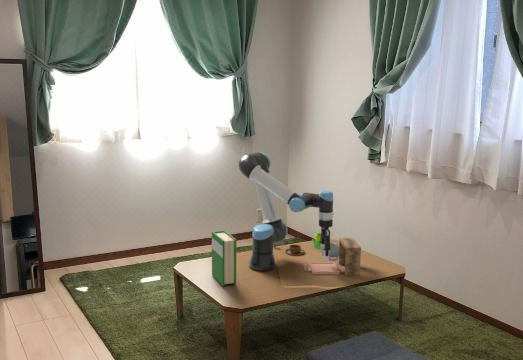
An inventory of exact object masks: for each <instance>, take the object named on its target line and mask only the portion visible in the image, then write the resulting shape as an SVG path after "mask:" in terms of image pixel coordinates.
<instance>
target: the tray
mask: <svg viewBox="0 0 523 360" xmlns="http://www.w3.org/2000/svg"><path fill="white" fill-rule="evenodd" d="M303 270H304V272H311V273H312V275H340V273H341V270H339V267H338V266H337V265H336V262H308V264H307V263H306V262H304V263H303Z"/></svg>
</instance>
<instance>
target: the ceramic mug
mask: <svg viewBox="0 0 523 360" xmlns="http://www.w3.org/2000/svg"><path fill="white" fill-rule="evenodd" d="M323 249H325V245H323V246H322V255H323V257H324V250H323ZM338 258H339V243H337V242H336V243H331V244H330V250H329V262H330V261H331V262H336V261H337V260H338Z"/></svg>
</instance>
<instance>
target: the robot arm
mask: <svg viewBox="0 0 523 360" xmlns="http://www.w3.org/2000/svg"><path fill="white" fill-rule="evenodd" d="M270 166H271V160H270V157H269V156H268V155H267V154H266V153H264V152H261V151H260V152H253V153H247V154H244V155H243V156H241V157H240V159H239V161H238V168H239V171H240V172H241V174H242V175H243V176H244V177H245V178H247V179H248V180H250V181H253V182H254V186H255V190H256V194H257V198H258V203H259V207H260V210H261V214H262V217H263V220H262V222H261V224H256V225H255V226H254V227H253V229H252V235H251V236H252V253H251V257H250V260H249V263H248V264H249V265H248V267H249V269H251V270H254V271H260V272H267V271H268V272H269V271H273V270H274V269H276V266H277V264H276V263H277V262H276V259H275V255H274V244H276V243H277V244H278V243H281V242H283V240H285V239H286V238H287V237H288V230H289V229H288V226H287V224H286V223H284V221H283V220H282V217H280V216H279V215H278V211H277V210H278V209H277V208H276V203H275V200H274V196H273V195H275V197H277V198H279V200H281V201H282V202H284V203H286V205H288V207H289V209H290V211H291V212H293V213H301V212H302V211H304V210H306V209H309V208H318V226H319V227H320V234H321V238H320V242H321V250H320V256H321V257H322V256H323V255H322V246H323V245H325V249H323V250H324V256H323V262H330V260H329V250H330V242H331V231H330V230H331V229H329V228H332V227H333V225H334V224H333V222H334V221H333V218H334V213H333V212H334V192H332V191H331V190H320V191H319V193H310V192H301V193H299V194H298V193H296V192H295V191H294V190H292V189H290V187H287V186H286V185H285V184H283V183H282V182H281V181H279V180H278V179H277V178H275V177H273V176H272V175H271V174H270ZM277 244H276V245H277Z"/></svg>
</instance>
